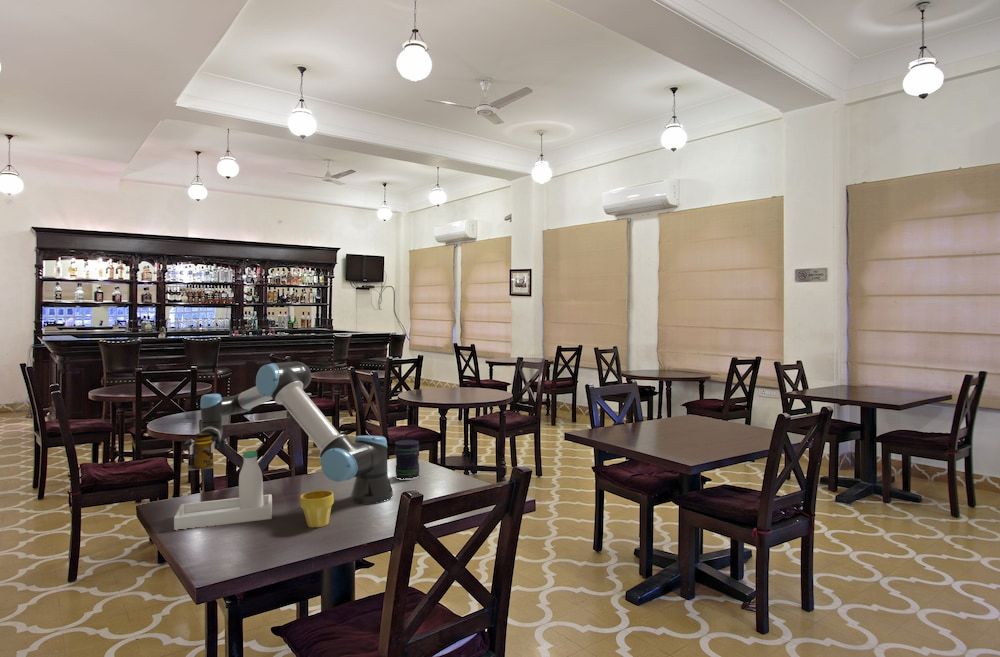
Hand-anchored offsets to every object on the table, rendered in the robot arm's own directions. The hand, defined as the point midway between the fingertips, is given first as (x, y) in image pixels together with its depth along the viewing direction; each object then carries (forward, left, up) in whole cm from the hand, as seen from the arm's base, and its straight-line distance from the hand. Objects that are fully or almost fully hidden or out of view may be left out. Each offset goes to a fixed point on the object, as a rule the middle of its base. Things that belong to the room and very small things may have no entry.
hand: (201, 449), depth 211 cm
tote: (-12, -3, -22) cm, 25 cm away
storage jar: (-16, -75, -22) cm, 80 cm away
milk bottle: (-13, -11, -21) cm, 27 cm away
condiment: (+5, -1, -7) cm, 9 cm away
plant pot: (-42, -21, -22) cm, 52 cm away
